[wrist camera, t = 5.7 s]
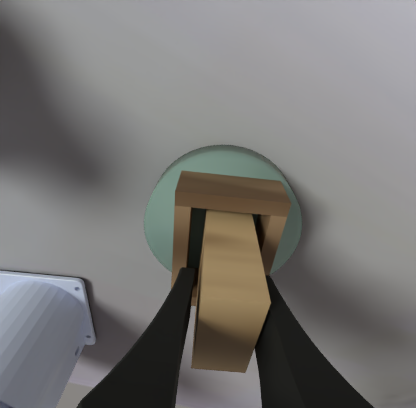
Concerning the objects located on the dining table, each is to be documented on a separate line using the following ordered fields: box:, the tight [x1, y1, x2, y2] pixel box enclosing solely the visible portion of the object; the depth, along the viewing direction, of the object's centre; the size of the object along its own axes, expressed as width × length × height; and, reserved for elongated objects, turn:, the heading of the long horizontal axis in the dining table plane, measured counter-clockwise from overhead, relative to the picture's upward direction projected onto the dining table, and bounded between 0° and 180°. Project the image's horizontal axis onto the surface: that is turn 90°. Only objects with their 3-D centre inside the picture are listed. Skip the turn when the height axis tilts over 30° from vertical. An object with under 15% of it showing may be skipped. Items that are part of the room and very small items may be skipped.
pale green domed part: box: [144, 145, 302, 275], centre depth 18 cm, size 10×10×2 cm
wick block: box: [191, 209, 271, 373], centre depth 14 cm, size 5×2×7 cm, turn 174°
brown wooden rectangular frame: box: [171, 170, 291, 306], centre depth 15 cm, size 8×6×2 cm
